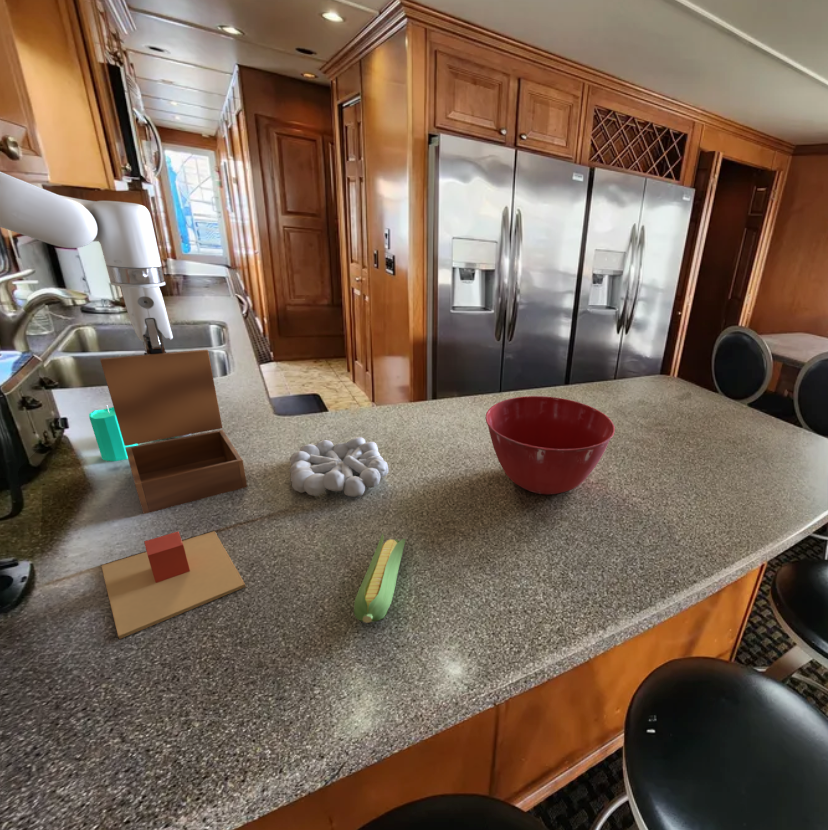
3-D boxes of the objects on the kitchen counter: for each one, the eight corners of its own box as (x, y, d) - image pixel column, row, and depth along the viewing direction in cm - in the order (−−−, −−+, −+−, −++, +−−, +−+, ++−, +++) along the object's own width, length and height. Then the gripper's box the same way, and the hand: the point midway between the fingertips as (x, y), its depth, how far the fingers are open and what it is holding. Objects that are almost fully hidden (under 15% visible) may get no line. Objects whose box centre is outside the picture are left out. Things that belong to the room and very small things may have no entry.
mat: (99, 559, 70) (98, 555, 70) (209, 524, 80) (209, 521, 80) (119, 639, 58) (117, 636, 58) (245, 587, 68) (245, 583, 68)
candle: (145, 457, 98) (131, 405, 93) (108, 467, 93) (92, 413, 89) (134, 448, 101) (120, 397, 96) (97, 457, 96) (81, 404, 91)
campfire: (258, 480, 94) (254, 455, 92) (345, 445, 112) (343, 423, 109) (331, 517, 85) (328, 491, 83) (413, 473, 103) (412, 449, 101)
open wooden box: (248, 490, 91) (242, 459, 88) (144, 517, 80) (134, 484, 78) (228, 457, 101) (222, 429, 99) (134, 477, 91) (125, 447, 88)
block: (190, 571, 69) (183, 544, 67) (155, 583, 66) (147, 555, 65) (185, 557, 72) (178, 531, 70) (152, 568, 69) (144, 541, 67)
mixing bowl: (629, 485, 108) (640, 425, 102) (544, 533, 88) (552, 462, 82) (544, 441, 125) (549, 388, 119) (457, 473, 105) (458, 411, 99)
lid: (208, 350, 91) (207, 349, 92) (100, 359, 81) (99, 358, 81) (222, 428, 98) (221, 426, 99) (124, 446, 88) (124, 444, 88)
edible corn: (348, 634, 63) (345, 608, 61) (381, 540, 81) (380, 519, 79) (387, 632, 63) (386, 607, 62) (411, 540, 82) (411, 519, 80)
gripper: (170, 282, 81) (191, 380, 88) (157, 270, 90) (177, 360, 97) (112, 282, 76) (139, 386, 83) (105, 270, 85) (130, 364, 92)
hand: (160, 372), depth 90 cm, fingers closed
